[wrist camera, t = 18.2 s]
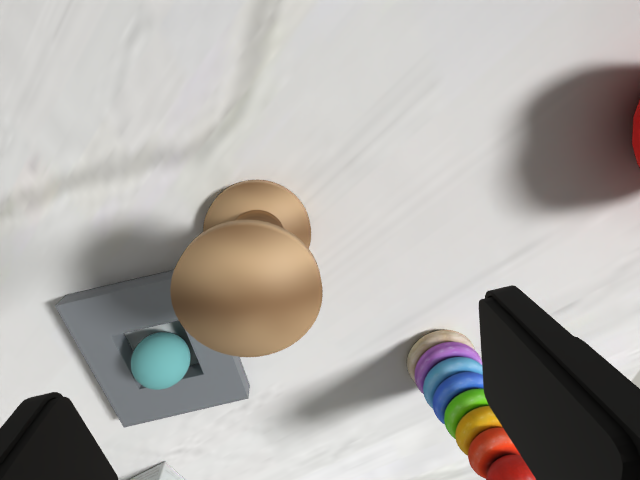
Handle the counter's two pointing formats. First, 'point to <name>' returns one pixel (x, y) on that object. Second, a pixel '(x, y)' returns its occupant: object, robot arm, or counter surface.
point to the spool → (249, 273)
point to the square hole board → (115, 352)
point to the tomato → (636, 134)
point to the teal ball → (160, 360)
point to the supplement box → (159, 473)
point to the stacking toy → (464, 403)
